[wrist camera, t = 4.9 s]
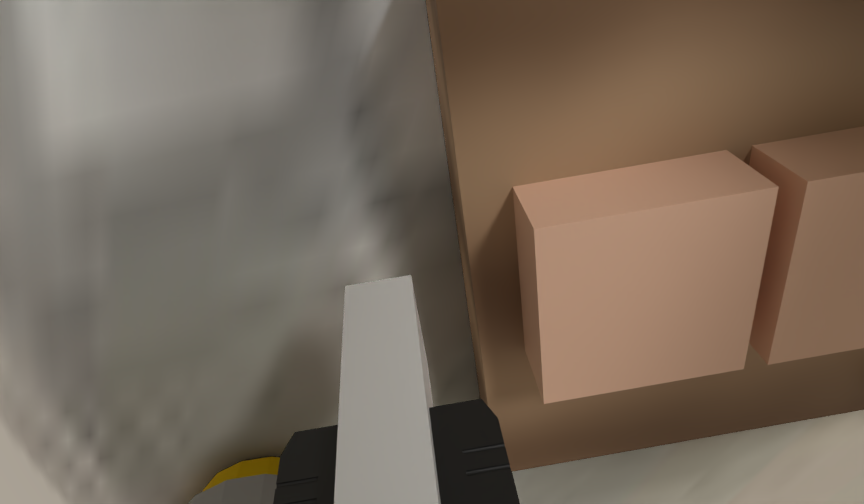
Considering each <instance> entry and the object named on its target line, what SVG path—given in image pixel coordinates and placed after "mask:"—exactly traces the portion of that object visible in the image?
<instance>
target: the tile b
mask: <svg viewBox="0 0 864 504" xmlns="http://www.w3.org/2000/svg"><path fill="white" fill-rule="evenodd" d="M749 166H750V167H752V168H753V169H754V170H756V171H757V172H759V173H760V174H761V175H763V176H764V177H766V178H767V179H769V180H770V181H771V182H773V183H774V184H776V185H777V186H778V187H779V188H778V193H777V199H776V204H775V209H774V214H773V220H772V225H771V230H770V235H769V241H768V246H767V251H766V256H765V261H764V267H763V272H762V277H761V282H760V288H759V293H758V298H757V303H756V308H755V314H754V319H753V324H752V329H751V335H750V340H749V343H750V345H751V346H752V347H753V348H754V349H755V350H756V352H757V353H758V354H759V355H760V356H761V357H762V359H763V360H764V361H765V362H766V363H767V364H768V365H770V364H776V363H781V362H787V361H793V360H798V359H804V358H810V357H816V356H821V355H827V354H833V353H838V352H844V351H850V350H855V349H861V348H864V126H862V127H857V128H851V129H845V130H839V131H833V132H828V133H822V134H816V135H810V136H804V137H798V138H793V139H787V140H781V141H775V142H769V143H764V144H758V145H752V150H751V156H750V163H749Z"/></svg>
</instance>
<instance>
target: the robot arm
mask: <svg viewBox="0 0 864 504" xmlns="http://www.w3.org/2000/svg"><path fill="white" fill-rule="evenodd" d="M276 485H277V488H276V489H275V494H274V501H273V504H520V503H519V499H518V495H517V491H516V487H515V483H514V479H513V475H512V471H511V468H510V464H509V459H508V456H507V452H506V448H505V444H504V440H503V436H502V432H501V428H500V424H499V420H498V417H497V416H496V415H495V414H494V413H493V412H492V410H491V409H490V408H489V407H488V406H487V404H486V403H485V402H484V401H483V400H482V399H477V400H471V401H466V402H460V403H454V404H448V405H442V406H436V407H433V399H432V392H431V384H430V377H429V369H428V362H427V357H426V352H425V346H424V341H423V336H422V330H421V325H420V320H419V315H418V309H417V304H416V299H415V293H414V288H413V283H412V277H411V275H407V276H401V277H395V278H389V279H383V280H377V281H371V282H365V283H359V284H353V285H348V286H345V298H344V317H343V337H342V356H341V375H340V395H339V414H338V425H334V426H329V427H323V428H317V429H311V430H305V431H299V432H295V433H294V434H293V436H292V438H291V439H290V441H289V443H288V445H287V446H286V448H285V450H284V451H283V453H282V455H281V456H280V461H279V468H278V475H277V481H276Z"/></svg>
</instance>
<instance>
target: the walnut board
mask: <svg viewBox="0 0 864 504" xmlns="http://www.w3.org/2000/svg"><path fill="white" fill-rule="evenodd" d="M426 8H427V15H428V22H429V30H430V37H431V44H432V51H433V59H434V66H435V73H436V80H437V88H438V95H439V102H440V110H441V117H442V124H443V131H444V139H445V146H446V153H447V160H448V168H449V175H450V182H451V190H452V197H453V204H454V211H455V219H456V226H457V233H458V240H459V248H460V255H461V262H462V269H463V277H464V284H465V291H466V299H467V306H468V313H469V320H470V328H471V335H472V342H473V349H474V357H475V364H476V371H477V379H478V386H479V393H480V399H482V400H483V401H484V402H485V403H486V404H487V406H488V407H489V408H490V409H491V410H492V412H493V413H494V414H495V415H496V416H497V417H498V420H499V424H500V428H501V432H502V436H503V440H504V444H505V448H506V452H507V456H508V459H509V464H510V468H511V471H518V470H523V469H529V468H535V467H540V466H546V465H552V464H557V463H563V462H569V461H574V460H580V459H586V458H591V457H597V456H603V455H608V454H614V453H620V452H625V451H631V450H637V449H642V448H648V447H654V446H659V445H665V444H671V443H677V442H682V441H688V440H694V439H699V438H705V437H711V436H716V435H722V434H728V433H733V432H739V431H745V430H750V429H756V428H762V427H767V426H773V425H779V424H784V423H790V422H796V421H801V420H807V419H813V418H818V417H824V416H830V415H835V414H841V413H847V412H852V411H858V410H864V348H861V349H855V350H850V351H844V352H838V353H833V354H827V355H821V356H816V357H810V358H804V359H798V360H793V361H787V362H781V363H776V364H770V365H768V364H767V363H766V362H765V361H764V360H763V359H762V357H761V356H760V355H759V354H758V353H757V352H756V350H755V349H754V348H753V347H752V346H751V345H750V343H749V345H748V350H747V355H746V361H745V366H744V369H741V370H736V371H730V372H724V373H719V374H713V375H707V376H701V377H696V378H690V379H684V380H679V381H673V382H667V383H662V384H656V385H650V386H644V387H639V388H633V389H627V390H622V391H616V392H610V393H605V394H599V395H593V396H587V397H582V398H576V399H570V400H565V401H559V402H553V403H548V404H544V403H543V400H542V397H541V395H540V392H539V389H538V386H537V383H536V380H535V377H534V375H533V372H532V369H531V366H530V363H529V360H528V357H527V355H526V352H525V344H524V331H523V318H522V304H521V291H520V278H519V265H518V252H517V239H516V225H515V212H514V199H513V187H514V186H520V185H526V184H531V183H537V182H543V181H549V180H555V179H560V178H566V177H572V176H578V175H584V174H589V173H595V172H601V171H607V170H613V169H618V168H624V167H630V166H636V165H642V164H647V163H653V162H659V161H665V160H671V159H677V158H682V157H688V156H694V155H700V154H706V153H711V152H717V151H723V150H728V151H729V152H730V153H732V154H733V155H735V156H736V157H737V158H739V159H740V160H742V161H743V162H745V163H746V164H747V165H749V163H750V156H751V150H752V145H758V144H764V143H769V142H775V141H781V140H787V139H793V138H798V137H804V136H810V135H816V134H822V133H828V132H833V131H839V130H845V129H851V128H857V127H862V126H864V0H426Z"/></svg>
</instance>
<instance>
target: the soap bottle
mask: <svg viewBox="0 0 864 504" xmlns="http://www.w3.org/2000/svg"><path fill="white" fill-rule="evenodd" d="M279 461H280V457H266V458H259V459H253V460H247V461H241V462H239V463H237V464H235V465H233V466H231V467H229V468H227V469H225V470H223V471H221V472H219V473H217V474H216V475H215V476H214V478H213V479H212V480H211V481H210V482H209V484H208V485H207V486H206V487H205V488H204V489H203V491H202V492H201V493H199V494H197V495H195V496H194V497H193V498H192V499H191V501H190V502H189V503H188V504H273V501H274V494H275V489H276V488H277V485H276V481H277V475H278V468H279Z"/></svg>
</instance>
